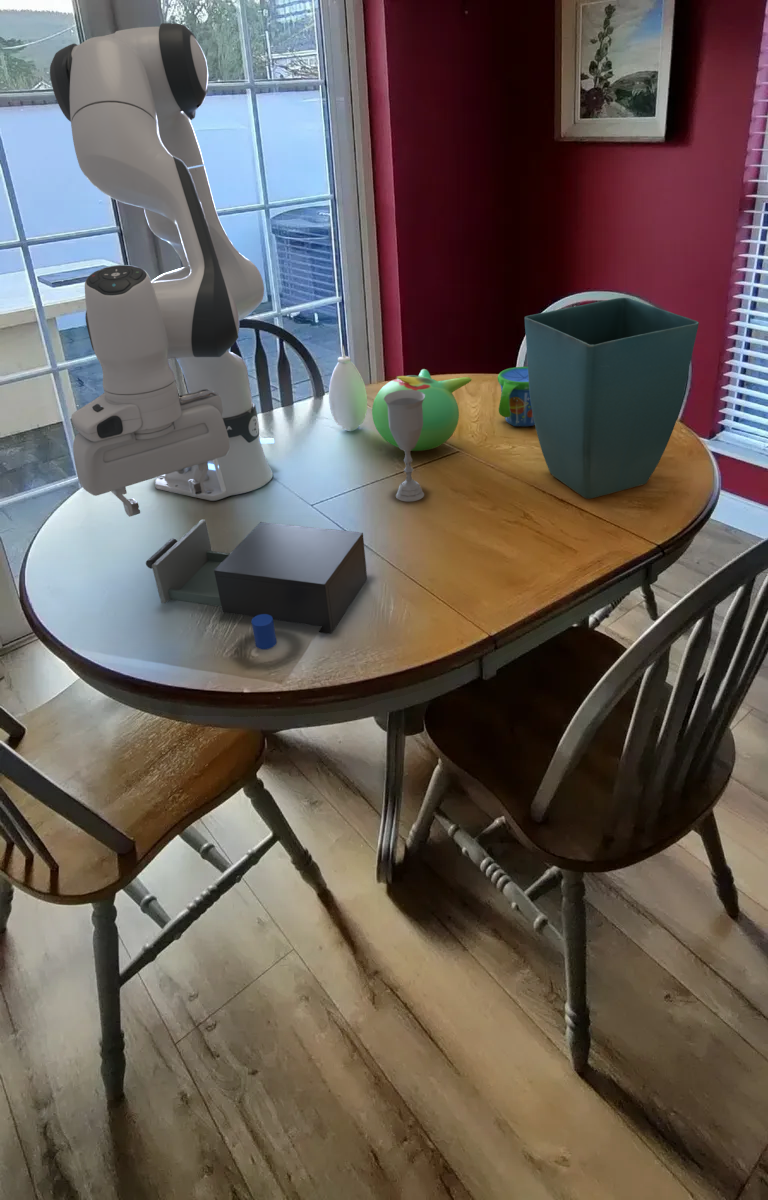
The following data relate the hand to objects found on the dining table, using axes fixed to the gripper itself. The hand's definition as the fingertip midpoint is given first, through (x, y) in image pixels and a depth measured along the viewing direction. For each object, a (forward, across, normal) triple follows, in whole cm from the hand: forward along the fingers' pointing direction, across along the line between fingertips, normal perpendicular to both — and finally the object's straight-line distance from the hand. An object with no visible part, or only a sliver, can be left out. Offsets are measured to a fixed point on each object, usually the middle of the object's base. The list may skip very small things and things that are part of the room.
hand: (166, 503), depth 112 cm
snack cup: (+17, -84, -18) cm, 88 cm away
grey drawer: (+16, -6, -1) cm, 17 cm away
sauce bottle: (+17, -56, -41) cm, 71 cm away
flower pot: (+16, -74, +12) cm, 76 cm away
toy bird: (+17, -61, -23) cm, 68 cm away
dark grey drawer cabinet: (+16, -13, +9) cm, 23 cm away
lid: (+16, -4, +18) cm, 24 cm away
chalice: (+17, -46, -6) cm, 49 cm away
